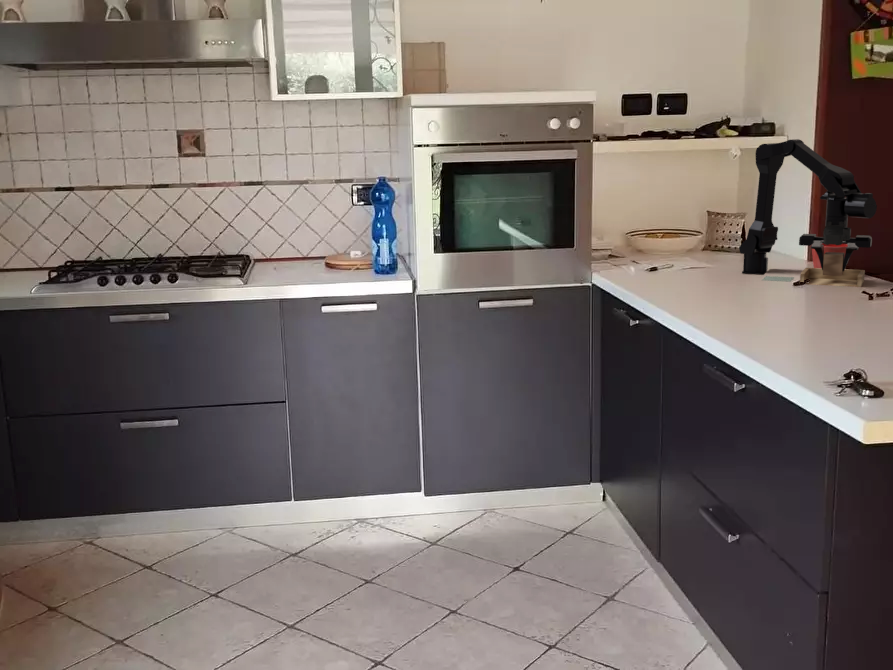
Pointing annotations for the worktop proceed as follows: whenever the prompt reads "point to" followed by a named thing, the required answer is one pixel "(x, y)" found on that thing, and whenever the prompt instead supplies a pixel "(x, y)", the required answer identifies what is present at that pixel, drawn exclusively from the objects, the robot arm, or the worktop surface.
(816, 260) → the flower pot
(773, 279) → the mat
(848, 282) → the crate
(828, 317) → the worktop surface
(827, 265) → the block
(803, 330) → the worktop surface
